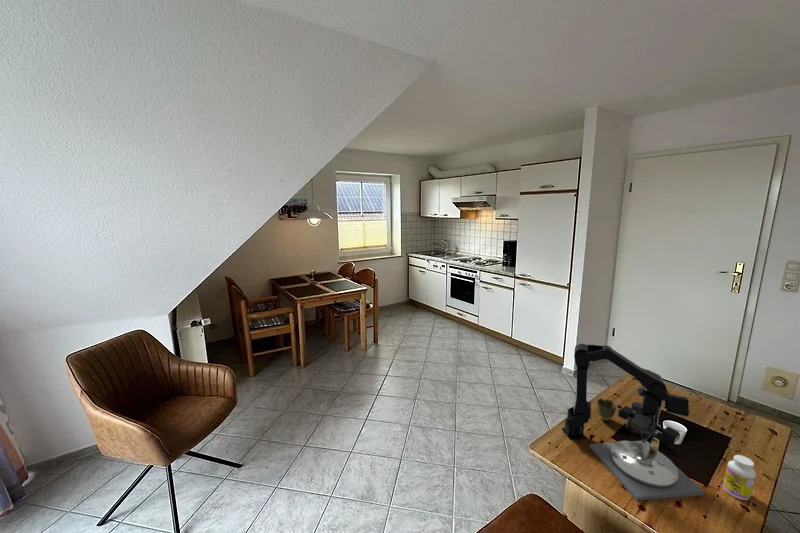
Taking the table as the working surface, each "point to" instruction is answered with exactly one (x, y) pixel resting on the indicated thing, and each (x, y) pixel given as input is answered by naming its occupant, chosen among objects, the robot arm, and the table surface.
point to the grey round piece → (644, 463)
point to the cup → (606, 409)
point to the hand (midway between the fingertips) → (643, 442)
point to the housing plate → (641, 490)
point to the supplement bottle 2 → (739, 477)
